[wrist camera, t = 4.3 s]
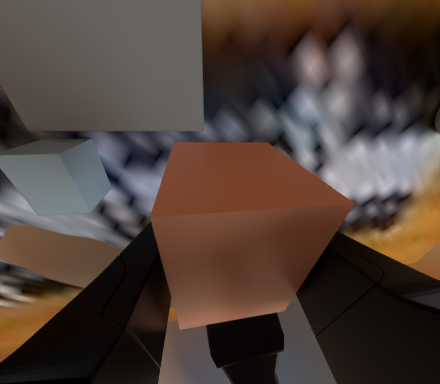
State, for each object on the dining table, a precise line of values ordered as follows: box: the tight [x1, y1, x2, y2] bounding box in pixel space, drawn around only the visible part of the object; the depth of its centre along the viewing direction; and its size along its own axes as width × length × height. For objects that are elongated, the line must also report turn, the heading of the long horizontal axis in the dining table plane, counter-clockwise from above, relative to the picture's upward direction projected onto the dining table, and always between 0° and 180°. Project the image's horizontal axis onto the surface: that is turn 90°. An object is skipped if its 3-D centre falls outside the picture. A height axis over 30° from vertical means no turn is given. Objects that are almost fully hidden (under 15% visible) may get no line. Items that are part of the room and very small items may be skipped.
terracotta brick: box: [150, 142, 355, 329], centre depth 7 cm, size 6×4×5 cm
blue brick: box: [0, 139, 111, 216], centre depth 16 cm, size 6×4×5 cm
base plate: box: [0, 0, 204, 131], centre depth 11 cm, size 16×16×1 cm
